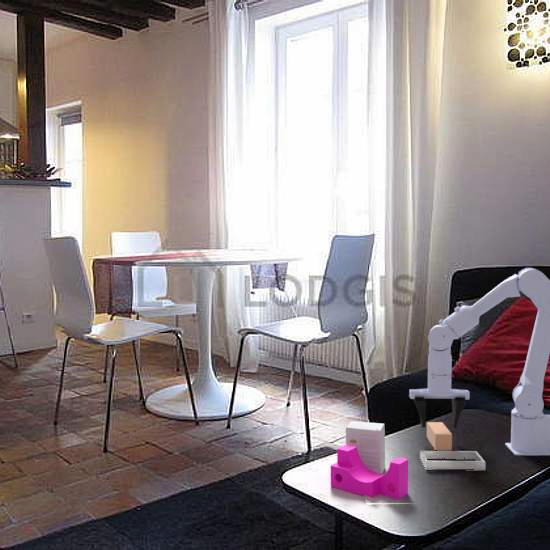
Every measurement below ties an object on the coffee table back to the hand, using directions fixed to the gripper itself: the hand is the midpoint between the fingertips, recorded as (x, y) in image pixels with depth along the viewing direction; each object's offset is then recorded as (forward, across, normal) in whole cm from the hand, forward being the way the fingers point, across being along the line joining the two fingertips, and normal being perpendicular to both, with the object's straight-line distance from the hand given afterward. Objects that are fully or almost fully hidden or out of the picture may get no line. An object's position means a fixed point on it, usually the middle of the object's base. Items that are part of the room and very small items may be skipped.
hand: (438, 426), depth 161 cm
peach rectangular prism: (+5, 0, 0) cm, 5 cm away
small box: (+5, +20, +17) cm, 27 cm away
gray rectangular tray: (+5, 0, +14) cm, 15 cm away
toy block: (+6, +20, +28) cm, 35 cm away
